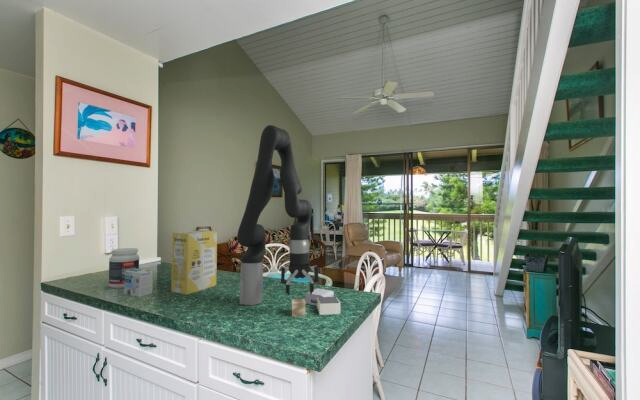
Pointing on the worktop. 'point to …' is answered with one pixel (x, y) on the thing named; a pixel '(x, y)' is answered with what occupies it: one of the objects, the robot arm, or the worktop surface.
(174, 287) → the yellow carton with handle
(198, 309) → the worktop surface
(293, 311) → the wooden cube
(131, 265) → the supplement tub
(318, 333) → the worktop surface
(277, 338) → the worktop surface
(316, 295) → the charger
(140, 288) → the light bulb box
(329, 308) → the plinth
